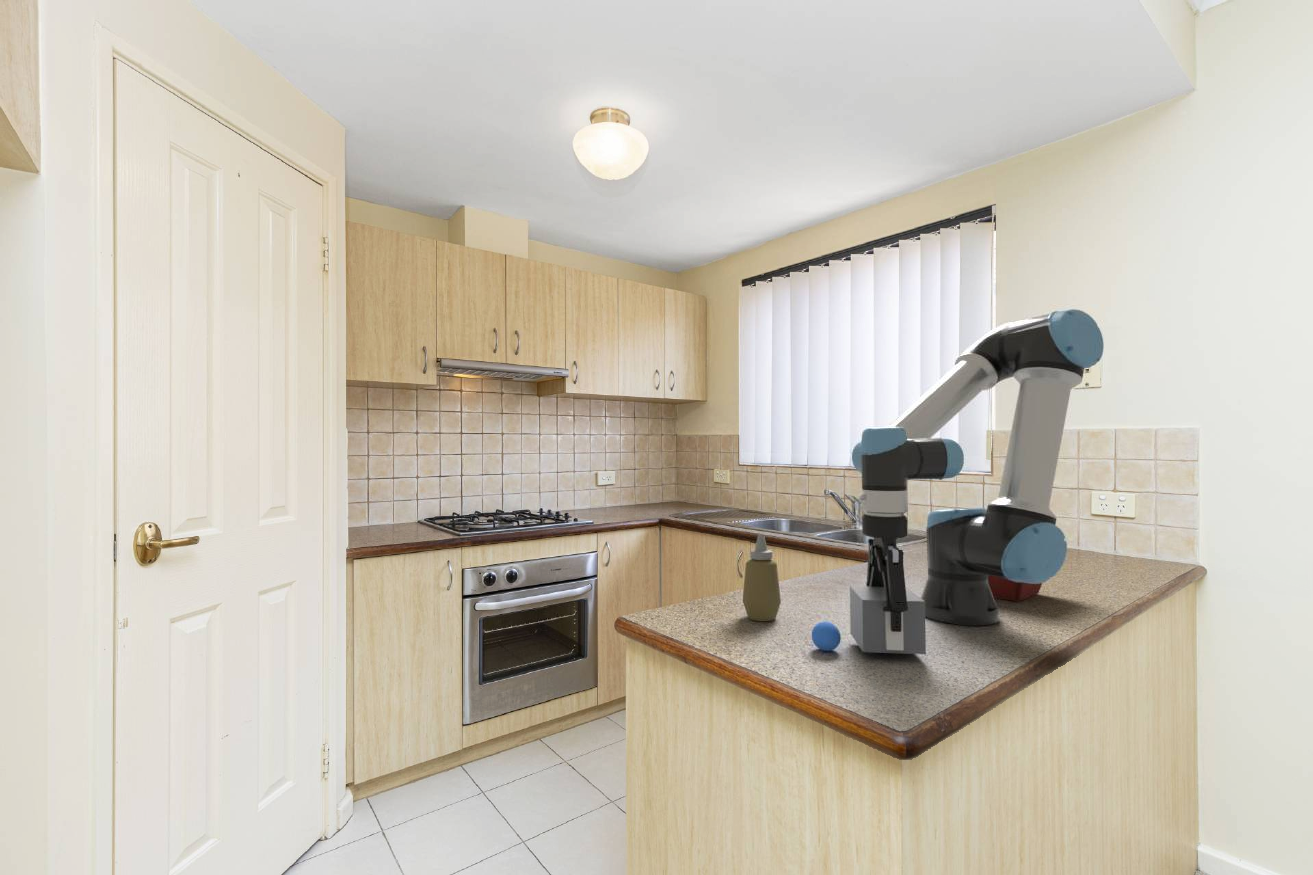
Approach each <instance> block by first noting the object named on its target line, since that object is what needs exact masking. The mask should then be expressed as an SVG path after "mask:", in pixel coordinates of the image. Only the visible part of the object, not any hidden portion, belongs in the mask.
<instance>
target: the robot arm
mask: <svg viewBox="0 0 1313 875" xmlns="http://www.w3.org/2000/svg"><path fill="white" fill-rule="evenodd" d="M1104 343H1105V342H1104V338H1103V333H1102V331H1101V328H1100V327H1099V326H1098V323H1097V322H1096V321H1095V319H1094V318H1093V317H1092V316H1091V315H1089V314H1088V313H1087V312H1085V311H1084V310H1080V309H1076V308H1075V309H1074V308H1073V309H1072V308H1071V309H1067V310H1061V311H1059V310H1057V311H1051V313H1047V314H1043V315H1039V316H1038V315H1037V316H1034V317H1030V318H1025V319H1021V320H1016V321H1015V320H1014V321H1011V322H1007V323H1004V324H1002V325H1000V326H998V327H996V328H994V329H992V330H990V331H989V332H987V334H985V335H984V336H982V337H981V338H980V339H978V340H977V341H976V342H974V343H973V344H972V345H970V346H969V347H968V348H967V349H966V350H964V351H963V352H962V353H961V354H960V355H959V356H958V357H957V358H956V360H955V362H954V367H953V368H952V369H951V370H950V371H948V372H947V373H946V374H945V375H944V376H943V377H942V378H941V379H940V380H938V381H937V382H936V383H935V384H934V385H933V386H931V387H930V389H929V390H927V391H926V392H925V393H923V395H922V396H920V397H919V399H917V400H916V401H915V402H914V403H913V404H911V405H910V406H909V407H908V408H907V409H906V410H905V411H904V412H903V413H901V415H899V416H898V417H897V418H896V419H895V420H894V421H893V422H891V423H890V424H889V425H888V426H885V427H884V426H883V427H881V426H880V427H878V426H877V427H876V426H875V427H868V428H865V429H864V430H863V431H862V433H861V440H860V441H858V443H856V445H855V446H854V447H853V449H852V451H851V462H852V465H853V466H854V468H855V470H856V471H857V472H859V473H860V474H861V493H862V494H860V495H858V499H859V500H860V501H861V506H862V508H861V509H862V511H863V512H865V514H863V515H862V516H861V530H862V531H861V532H862V534H863V535H864V536H867V537H869V538H868V540H867V543H868V556H867V567H866V568H867V571H866V582H865V584H866V586H867V587H884V590H885V596H886V603H887V607H884V608H883V611H885V635H886V649H887V650H904V643H903V612H904V611H907V610H908V606H907V597H906V587H907V586H906V578H905V567H904V554H905V553H904V551H903V549H899V548H900V547H897V539H898V538H899V539H903V538H905V537H907V536H908V517H907V516H906V515H905V514H907V512H908V480H909V481H910V480H939V481H941V480H942V481H943V480H945V479H952V478H954V477H956V476H958V475H959V474H960V473H961V471H962V470H963V468H964V464H965V457H964V456H965V455H964V451H963V449H962V446H961V445H960V444H959V443H958V442H957V441H955V440H953V439H950V438H942V437H936V438H935V437H934V436H935V435H936V433H938V432H939V431H940V430H941V429H942V428H944V427H945V426H946V424H948V422H950V421H951V420H952V419H953V418H954V417H955V416H957V414H959V413H960V412H961V411H962V410H963V409H964V408H965V407H966V406H967V405H968V404H969V403H970V402H972V401H973V399H975V398H976V397H977V396H978V395H979V394H980V393H981V392H982V391H988V390H991V389H993V388H994V387H995V386H996V385H997V384H998V383H1000V382H1001V381H1004V380H1007V379H1010V378H1014V379H1015V380H1016V381H1017V383H1019V390H1018V395H1017V400H1016V404H1015V410H1014V415H1013V420H1012V425H1011V430H1010V435H1009V441H1008V446H1007V450H1006V456H1005V461H1004V466H1003V471H1002V477H1001V480H1000V481H1001V482H1000V486H999V491H998V496H997V498H996V499H994V500H993V501H991V502H989V503H988V504H987V508H984V507H977V508H974V507H973V508H955V509H951V508H950V509H935V510H932V511H930V512H929V513H928V514H927V524H926V528H925V529H926V551H927V552H926V554H927V555H926V556H927V557H926V558H927V579H926V582H925V584H924V586H923V587H924V588H923V591H922V594H921V596H920V598H921V599H922V600H924V601H925V618H928V619H931V620H933V621H937V622H942V623H946V624H952V625H960V626H961V625H962V626H988V625H993V624H996V623H998V622H999V608H998V605H997V603H996V600H995V598H994V597H993V594H992V591H991V589H990V586H989V582H988V575H992V576H996V577H1001V578H1005V579H1008V580H1011V581H1014V582H1024V583H1030V584H1039V583H1042V584H1044V583H1046V582H1047V581H1048V582H1049V581H1050V579H1051V578H1053V577H1055V576H1056V575H1057V574H1058V573H1059V572H1060V571H1061V569H1062V567H1063V566H1064V563H1065V560H1066V557H1067V552H1068V543H1067V541H1066V540H1065V539H1066V535H1065V533H1064V532H1063V530H1062V529H1061V528H1060V527H1058V526H1057V516H1056V514H1054V512H1053V511H1052V510H1051V509H1050V503H1051V498H1052V494H1053V493H1052V492H1053V488H1054V481H1055V477H1056V472H1057V466H1058V462H1059V461H1058V460H1059V456H1060V449H1061V444H1062V439H1063V434H1064V429H1065V423H1066V418H1067V412H1068V407H1069V401H1070V397H1071V393H1072V392H1071V391H1072V389H1074V388H1075V387H1077V386H1078V385H1080V384H1081V383H1082V382H1083V378H1084V372H1085V369H1089V368H1091V367H1093V366H1095V365H1096V364H1097V363H1098V362H1100V361H1101V359H1102V357H1103V353H1104V348H1105V347H1104ZM933 437H934V438H933ZM895 602H898V603H895Z"/></svg>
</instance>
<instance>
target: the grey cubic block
mask: <svg viewBox="0 0 1313 875" xmlns="http://www.w3.org/2000/svg"><path fill="white" fill-rule="evenodd" d="M905 587H906V597H907V606H908V610H907V611H904V612H903V643H904V650H887V649H886V635H885V611H883V608H884V607H887V603H886V596H885V590H884V587H867V585H866V586H861V585H860V586H859V585H856V586H855V585H850V586H849V610H850V611H849V614H850V615H849V617H850V618H849V619H850V621H849V622H850V623H849V624H850V626H849V630H850V631H849V632H850V635H851V637H852V638H853V639H854V641H855V643H856V644H857V646H858V647H859V648H860V650H861V651H862V652H863V653H878V654H879V653H881V654H882V653H883V654H908V655H910V654H915V655H926V654H927V651H926V650H927V649H926V648H927V646H926V645H927V644H926V642H927V640H926V635H927V634H926V633H927V632H926V617H925V601H924V600H922V599H921V596H919V595H917V594H916V593H915V592H914V591H912V590H911V589H910V588H909V587H907V586H905ZM895 603H898V602H895Z"/></svg>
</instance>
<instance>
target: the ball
mask: <svg viewBox="0 0 1313 875" xmlns="http://www.w3.org/2000/svg"><path fill="white" fill-rule="evenodd" d="M841 637H842V636H841V632H840V630H839V629H838V627H837V626H836V625H835V624H834V623H832V622H829V621H820V622H818V623H817V624H815V625H814V626H813V629H812V630H811V640H812V642H813V644H814V645H815V647H816V648H818V649H819V650H821V651H825V652H830V651H833V650H835V649H836V648H837V649H838V646H840V643H841V640H842V639H841Z"/></svg>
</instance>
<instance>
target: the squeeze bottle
mask: <svg viewBox="0 0 1313 875" xmlns="http://www.w3.org/2000/svg"><path fill="white" fill-rule="evenodd" d="M754 547H755V548H753V549H751V550H750V551H749V555H750V556H749V557H750V559H749V560H747V561H746V563H745V568H744V569H745V570H744V571H745V572H744V579H743V580H744V581H743V591H742V602H743V603H742V604H743V606H744V609H745V613H746V615H747V618H748V619H750V620H752V621H757V622H771V621H775V619H776V618H777V615H778V612H779V609H780V606H781V602H782V599H781V592H780V581H779V572H778V563H777V562H776V561H774V560H773V550H771V549H768V546H767V542H766V538H765V534H764V533H762V532H760V533H758V534H757V539H756V542H755V546H754Z"/></svg>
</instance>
